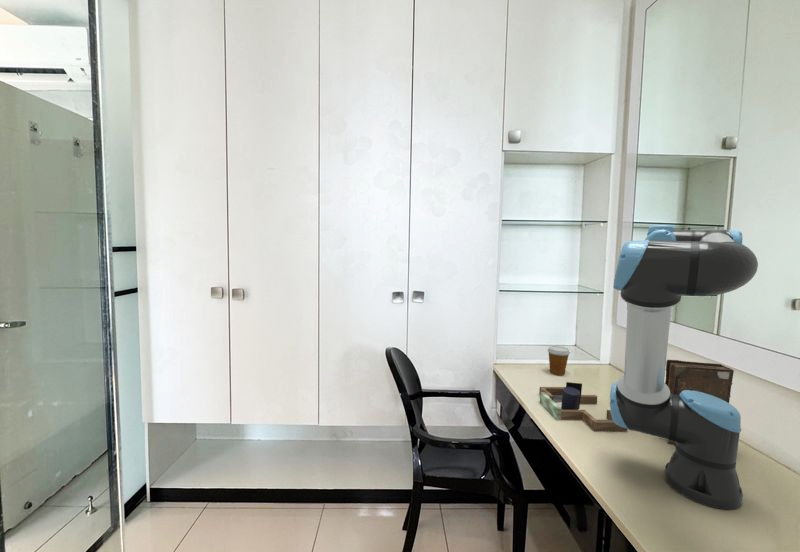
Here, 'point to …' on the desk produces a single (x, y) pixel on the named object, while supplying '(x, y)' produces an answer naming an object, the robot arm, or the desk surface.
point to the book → (699, 379)
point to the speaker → (571, 396)
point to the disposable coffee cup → (558, 359)
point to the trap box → (555, 395)
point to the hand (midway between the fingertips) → (651, 341)
